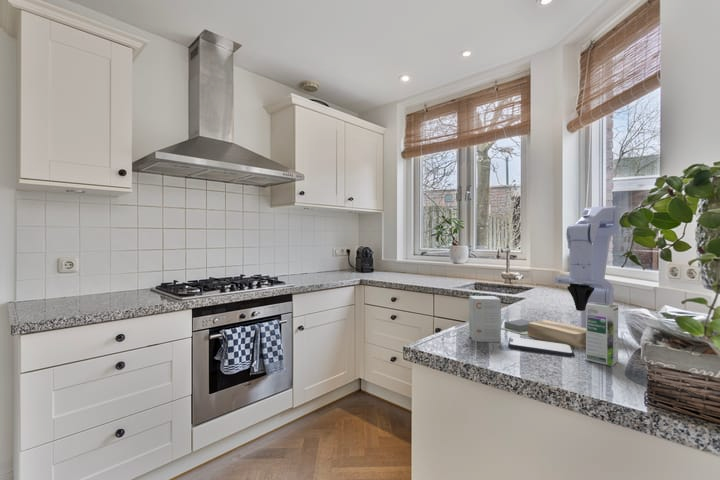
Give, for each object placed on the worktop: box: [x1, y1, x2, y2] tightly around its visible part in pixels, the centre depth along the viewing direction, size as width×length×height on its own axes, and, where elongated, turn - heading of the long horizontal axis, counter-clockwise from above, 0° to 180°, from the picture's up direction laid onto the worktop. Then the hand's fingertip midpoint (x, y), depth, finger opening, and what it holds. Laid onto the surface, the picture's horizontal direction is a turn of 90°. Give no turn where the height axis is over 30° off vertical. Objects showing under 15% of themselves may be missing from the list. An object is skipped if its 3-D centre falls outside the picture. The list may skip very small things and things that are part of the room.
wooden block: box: [527, 319, 586, 350], centre depth 105 cm, size 10×15×4 cm, turn 27°
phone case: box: [507, 336, 575, 358], centre depth 96 cm, size 9×2×16 cm
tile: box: [503, 318, 533, 332], centre depth 117 cm, size 9×6×2 cm, turn 117°
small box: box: [468, 295, 502, 343], centre depth 104 cm, size 8×6×13 cm
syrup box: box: [585, 302, 619, 367], centre depth 86 cm, size 6×6×14 cm
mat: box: [501, 326, 528, 336], centre depth 116 cm, size 12×9×1 cm
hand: (580, 310), depth 100 cm, fingers closed
